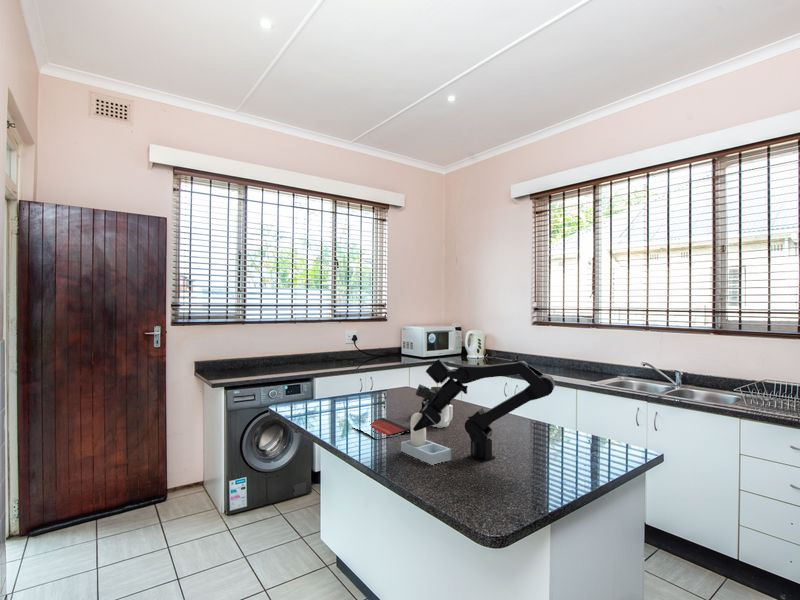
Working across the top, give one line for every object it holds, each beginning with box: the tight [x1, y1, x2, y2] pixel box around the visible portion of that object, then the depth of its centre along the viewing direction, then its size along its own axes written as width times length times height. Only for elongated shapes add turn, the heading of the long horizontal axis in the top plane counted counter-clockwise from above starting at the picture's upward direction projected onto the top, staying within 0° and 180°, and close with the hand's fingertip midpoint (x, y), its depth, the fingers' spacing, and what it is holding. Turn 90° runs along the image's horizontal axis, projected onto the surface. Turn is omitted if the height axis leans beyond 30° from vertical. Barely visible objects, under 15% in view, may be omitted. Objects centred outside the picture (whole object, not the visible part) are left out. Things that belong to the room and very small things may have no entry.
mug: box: [432, 404, 454, 429], centre depth 178 cm, size 12×9×11 cm
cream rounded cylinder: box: [410, 412, 427, 448], centre depth 145 cm, size 5×5×13 cm
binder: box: [370, 417, 411, 436], centre depth 172 cm, size 16×2×21 cm
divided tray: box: [400, 439, 452, 466], centre depth 142 cm, size 16×8×4 cm, turn 38°
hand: (414, 426), depth 145 cm, fingers open, 9 cm apart
